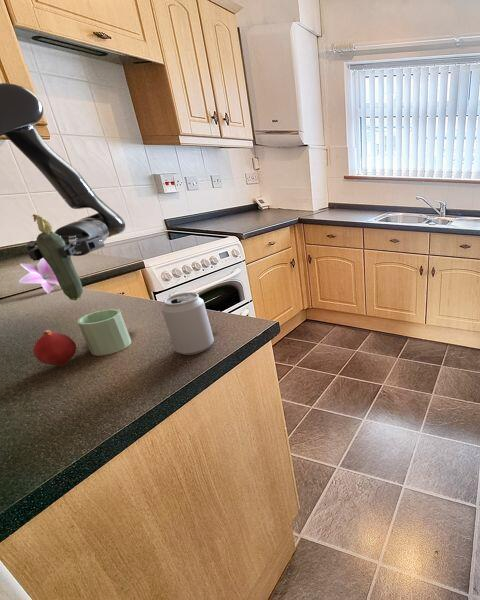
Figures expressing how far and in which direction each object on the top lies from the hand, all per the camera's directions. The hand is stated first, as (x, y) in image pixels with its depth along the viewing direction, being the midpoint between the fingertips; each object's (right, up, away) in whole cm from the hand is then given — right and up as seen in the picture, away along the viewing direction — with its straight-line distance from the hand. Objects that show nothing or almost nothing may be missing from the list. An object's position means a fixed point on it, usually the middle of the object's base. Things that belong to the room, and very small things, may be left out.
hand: (48, 254), depth 72 cm
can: (+30, -20, +2) cm, 37 cm away
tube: (+12, -20, +2) cm, 23 cm away
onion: (+7, -23, -4) cm, 24 cm away
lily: (-34, -6, +34) cm, 49 cm away
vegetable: (-1, -10, +7) cm, 12 cm away
